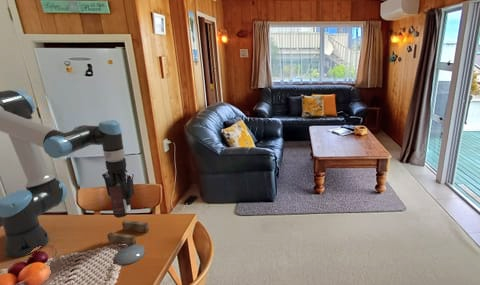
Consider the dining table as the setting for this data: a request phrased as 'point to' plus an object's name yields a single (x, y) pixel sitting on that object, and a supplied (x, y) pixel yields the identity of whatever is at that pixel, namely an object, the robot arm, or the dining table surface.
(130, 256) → the coaster
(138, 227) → the rack
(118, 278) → the dining table surface
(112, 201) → the can
